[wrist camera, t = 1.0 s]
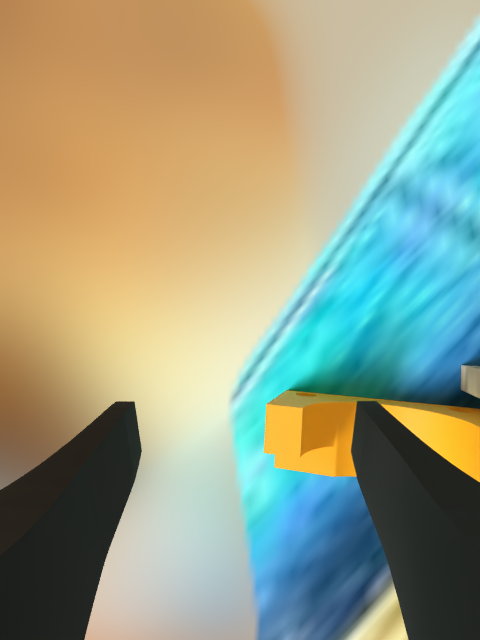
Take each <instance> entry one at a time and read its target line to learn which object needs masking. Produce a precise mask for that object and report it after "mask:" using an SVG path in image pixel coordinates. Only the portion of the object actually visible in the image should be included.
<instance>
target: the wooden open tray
mask: <svg viewBox="0 0 480 640" xmlns="http://www.w3.org/2000/svg"><path fill="white" fill-rule="evenodd" d="M461 390H462V391H465V392H467V393H469V394H471V395H473V396H475V397H478V398H480V366H468V365H461Z"/></svg>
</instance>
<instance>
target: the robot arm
mask: <svg viewBox="0 0 480 640" xmlns="http://www.w3.org/2000/svg"><path fill="white" fill-rule="evenodd" d="M141 452H142V451H141V443H140V437H139V429H138V422H137V416H136V409H135V402H115V403H114V404H112V405H111V406H110V407H109V408H108V409H107V410H105V411H104V412H103V413H102V414H101V415H100V416H99V417H98V418H96V419H95V420H94V421H93V422H92V423H91V424H90V425H88V426H87V427H86V428H85V429H84V430H83V431H82V432H80V433H79V434H78V435H77V436H76V437H74V438H73V439H72V440H71V441H70V442H68V443H67V444H66V445H64V446H63V447H62V448H61V449H59V450H58V451H57V452H56V453H54V454H53V455H52V456H50V457H49V458H48V459H47V460H45V461H44V462H42V463H41V464H40V465H38V466H37V467H35V468H34V469H33V470H31V471H30V472H28V473H27V474H25V475H24V476H22V477H21V478H19V479H18V480H16V481H14V482H13V483H11V484H10V485H8V486H6V487H5V488H3V489H1V490H0V640H84V638H85V634H86V630H87V626H88V622H89V618H90V614H91V611H92V606H93V603H94V599H95V595H96V591H97V588H98V584H99V581H100V577H101V573H102V569H103V566H104V562H105V559H106V556H107V553H108V550H109V547H110V545H111V542H112V539H113V537H114V534H115V532H116V529H117V526H118V524H119V521H120V519H121V516H122V513H123V511H124V508H125V505H126V503H127V500H128V497H129V495H130V492H131V489H132V487H133V484H134V481H135V477H136V473H137V469H138V465H139V461H140V456H141ZM351 454H352V459H353V463H354V468H355V471H356V475H357V479H358V483H359V485H360V488H361V491H362V493H363V496H364V499H365V502H366V504H367V507H368V509H369V512H370V515H371V517H372V520H373V523H374V525H375V528H376V530H377V533H378V536H379V538H380V541H381V544H382V546H383V549H384V552H385V555H386V558H387V561H388V564H389V567H390V571H391V575H392V578H393V582H394V585H395V589H396V593H397V596H398V600H399V604H400V608H401V612H402V616H403V620H404V623H405V627H406V631H407V635H408V639H409V640H480V482H478V481H477V480H475V479H474V478H472V477H471V476H469V475H468V474H466V473H465V472H463V471H462V470H460V469H459V468H457V467H456V466H454V465H453V464H452V463H450V462H449V461H448V460H446V459H445V458H444V457H442V456H441V455H440V454H438V453H437V452H436V451H434V450H433V449H432V448H431V447H429V446H428V445H427V444H426V443H424V442H423V441H422V440H421V439H420V438H418V437H417V436H416V435H415V434H414V433H412V432H411V431H410V430H409V429H408V428H407V427H405V426H404V425H403V424H402V423H401V422H400V421H399V420H397V419H396V418H395V417H394V416H393V415H392V414H391V413H390V412H388V411H387V410H386V409H385V408H384V407H383V406H382V405H380V404H379V403H378V402H377V401H357V405H356V413H355V422H354V430H353V438H352V446H351Z"/></svg>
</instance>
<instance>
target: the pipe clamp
mask: <svg viewBox="0 0 480 640" xmlns="http://www.w3.org/2000/svg"><path fill="white" fill-rule="evenodd" d="M357 401H377V402H378V403H379V404H380V405H382V406H383V407H384V408H385V409H386V410H387V411H388V412H390V413H391V414H392V415H393V416H394V417H395V418H396V419H397V420H399V421H400V422H401V423H402V424H403V425H404V426H405V427H407V428H408V429H409V430H410V431H411V432H412V433H414V434H415V435H416V436H417V437H418V438H420V439H421V440H422V441H423V442H424V443H426V444H427V445H428V446H429V447H431V448H432V449H433V450H434V451H436V452H437V453H438V454H440V455H441V456H442V457H444V458H445V459H446V460H448V461H449V462H450V463H452V464H453V465H454V466H456V467H457V468H459V469H460V470H462V471H463V472H465V473H466V474H468V475H469V476H471V477H472V478H474V479H475V480H477V481H478V482H480V409H477V408H467V407H456V406H446V405H436V404H425V403H415V402H405V401H394V400H384V399H374V398H363V397H353V396H343V395H332V394H322V393H312V392H301V391H291V390H286V391H285V392H284V393H282V394H281V395H279V396H278V397H276V398H275V399H273V400H272V401H270V402H269V403H267V404H266V422H265V441H264V453H269V454H275V467H276V468H282V469H288V470H295V471H301V472H307V473H314V474H320V475H327V476H333V477H336V476H357V475H356V471H355V468H354V463H353V459H352V454H351V446H352V438H353V430H354V422H355V413H356V405H357Z"/></svg>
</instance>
